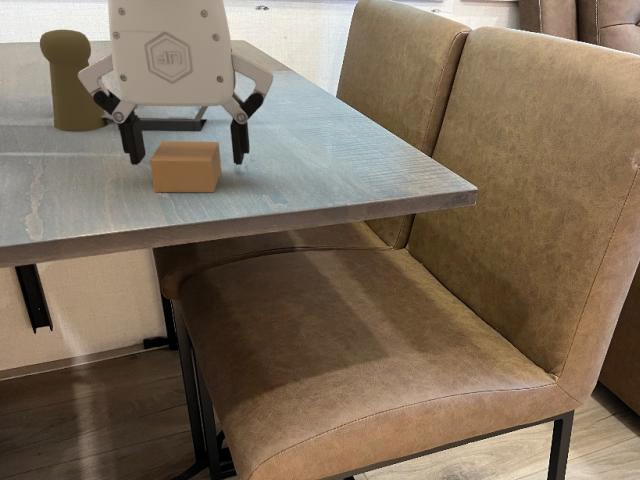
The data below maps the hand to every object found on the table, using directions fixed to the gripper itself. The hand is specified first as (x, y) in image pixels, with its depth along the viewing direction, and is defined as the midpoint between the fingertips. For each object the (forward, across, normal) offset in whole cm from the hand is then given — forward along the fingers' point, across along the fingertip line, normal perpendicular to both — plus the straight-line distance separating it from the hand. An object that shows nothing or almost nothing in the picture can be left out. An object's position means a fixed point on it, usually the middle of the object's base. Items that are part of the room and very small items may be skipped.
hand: (189, 160), depth 63 cm
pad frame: (+2, -6, +24) cm, 25 cm away
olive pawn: (+2, -16, +18) cm, 24 cm away
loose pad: (+2, 0, 0) cm, 2 cm away
